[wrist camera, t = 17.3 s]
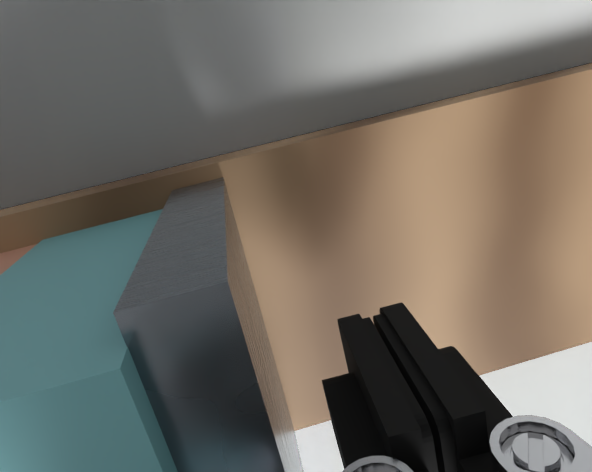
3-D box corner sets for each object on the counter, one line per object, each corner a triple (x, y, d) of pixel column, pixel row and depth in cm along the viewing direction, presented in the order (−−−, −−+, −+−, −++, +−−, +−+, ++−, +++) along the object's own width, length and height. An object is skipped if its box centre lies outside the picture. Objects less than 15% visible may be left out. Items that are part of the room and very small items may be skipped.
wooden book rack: (706, 34, 16) (1308, -37, 7) (689, 285, 19) (1089, 451, 10) (-134, 243, 14) (-768, 516, 5) (6, 487, 17) (-226, 918, 8)
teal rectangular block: (178, 204, 14) (119, 368, 6) (247, 419, 16) (274, 739, 8) (42, 239, 13) (-227, 466, 5) (134, 452, 16) (47, 821, 8)
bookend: (223, 177, 13) (227, 281, 6) (293, 427, 16) (353, 699, 9) (171, 190, 13) (113, 312, 6) (252, 440, 16) (279, 725, 9)
